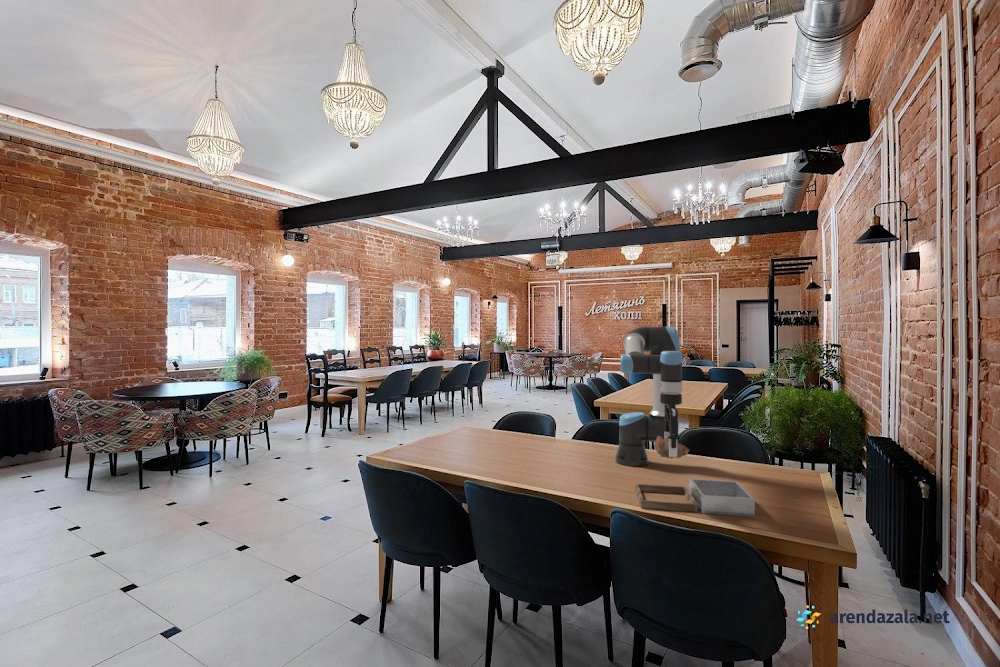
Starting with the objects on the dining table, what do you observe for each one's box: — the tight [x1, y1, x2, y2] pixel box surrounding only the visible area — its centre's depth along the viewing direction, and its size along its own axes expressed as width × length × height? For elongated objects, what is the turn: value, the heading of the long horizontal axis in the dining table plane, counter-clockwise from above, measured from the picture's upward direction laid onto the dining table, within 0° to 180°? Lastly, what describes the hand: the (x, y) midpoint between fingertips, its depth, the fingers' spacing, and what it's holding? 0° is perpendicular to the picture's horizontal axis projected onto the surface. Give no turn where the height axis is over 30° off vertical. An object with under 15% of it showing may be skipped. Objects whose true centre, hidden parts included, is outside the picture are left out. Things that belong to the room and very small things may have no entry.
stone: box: [654, 436, 690, 459], centre depth 173 cm, size 10×11×10 cm
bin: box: [688, 478, 756, 518], centre depth 170 cm, size 19×17×6 cm
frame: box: [635, 483, 699, 513], centre depth 174 cm, size 19×19×2 cm
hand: (670, 452), depth 173 cm, fingers closed on stone, 10 cm apart
